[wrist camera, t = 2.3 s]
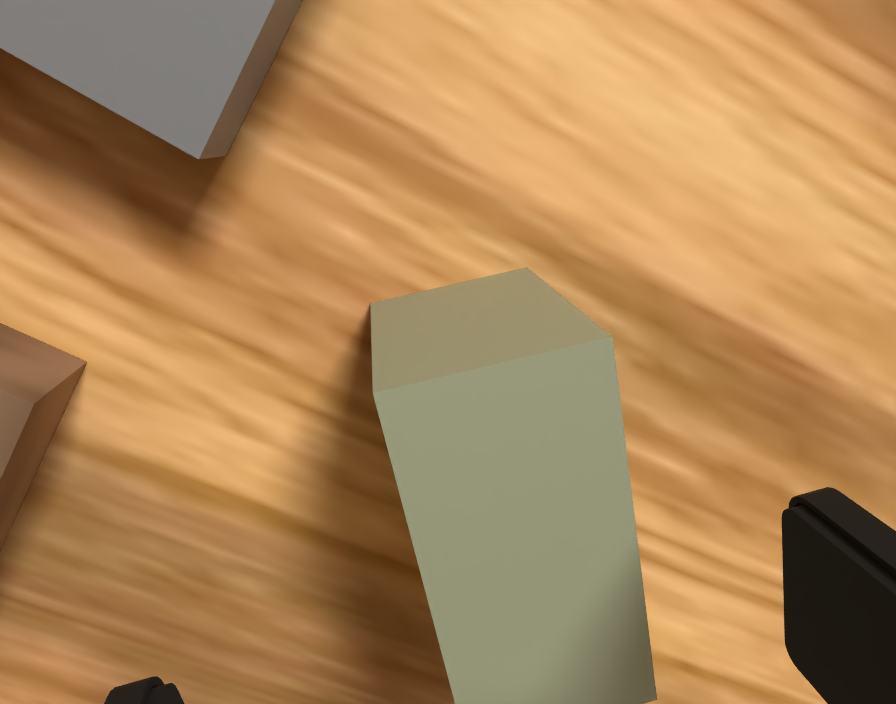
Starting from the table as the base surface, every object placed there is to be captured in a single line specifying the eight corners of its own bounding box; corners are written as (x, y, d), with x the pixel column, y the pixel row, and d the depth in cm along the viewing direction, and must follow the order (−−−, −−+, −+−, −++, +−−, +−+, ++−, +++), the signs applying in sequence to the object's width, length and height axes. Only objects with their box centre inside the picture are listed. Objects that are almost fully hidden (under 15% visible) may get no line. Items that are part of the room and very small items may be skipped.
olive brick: (526, 266, 16) (612, 336, 10) (569, 530, 19) (657, 699, 13) (370, 302, 16) (372, 392, 10) (436, 563, 19) (467, 750, 13)
